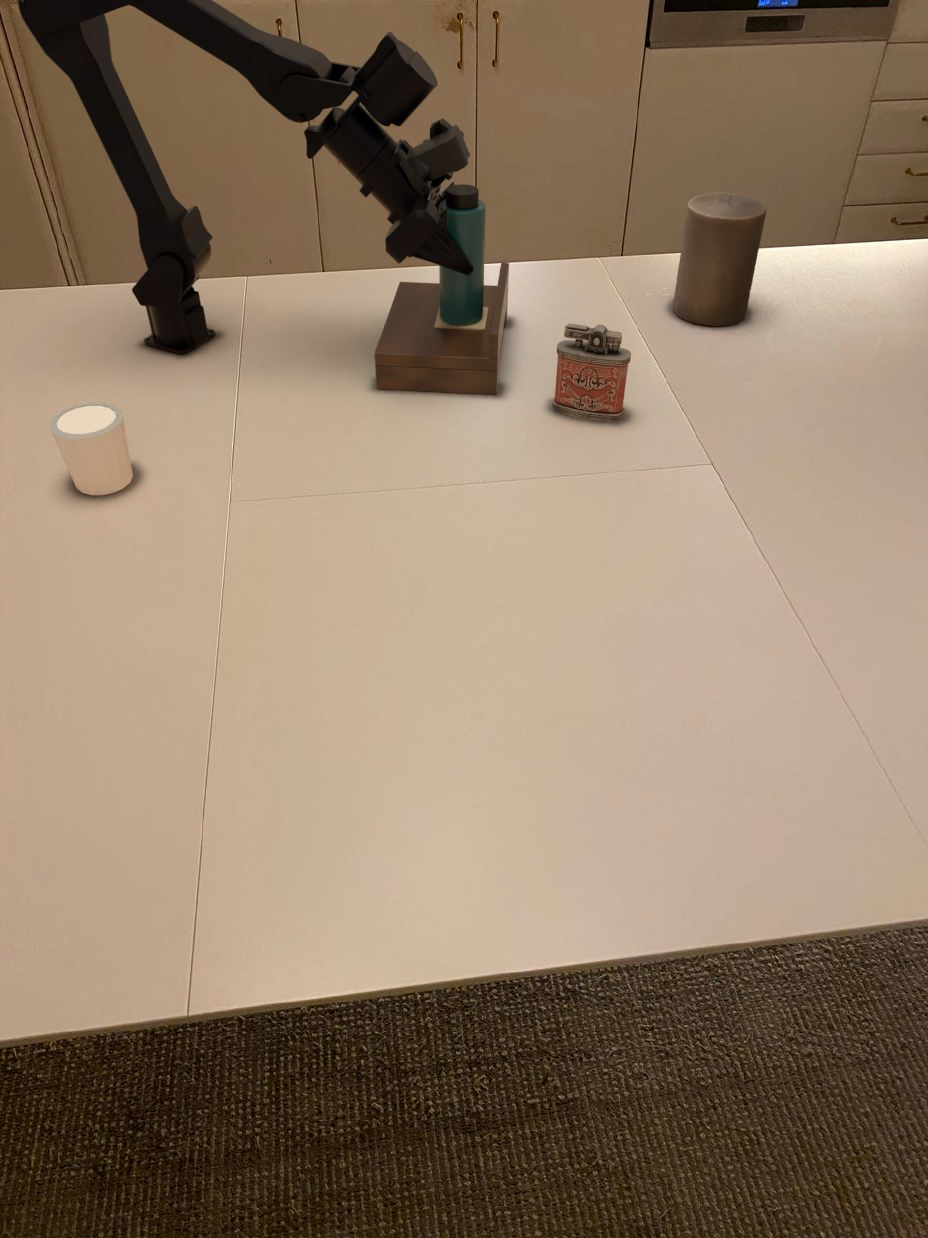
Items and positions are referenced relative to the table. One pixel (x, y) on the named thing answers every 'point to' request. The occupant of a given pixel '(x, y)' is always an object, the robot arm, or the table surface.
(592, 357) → the lighter
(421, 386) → the wooden box
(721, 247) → the pillar candle
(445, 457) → the table surface
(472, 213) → the water bottle
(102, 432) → the cream cylinder
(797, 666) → the table surface
